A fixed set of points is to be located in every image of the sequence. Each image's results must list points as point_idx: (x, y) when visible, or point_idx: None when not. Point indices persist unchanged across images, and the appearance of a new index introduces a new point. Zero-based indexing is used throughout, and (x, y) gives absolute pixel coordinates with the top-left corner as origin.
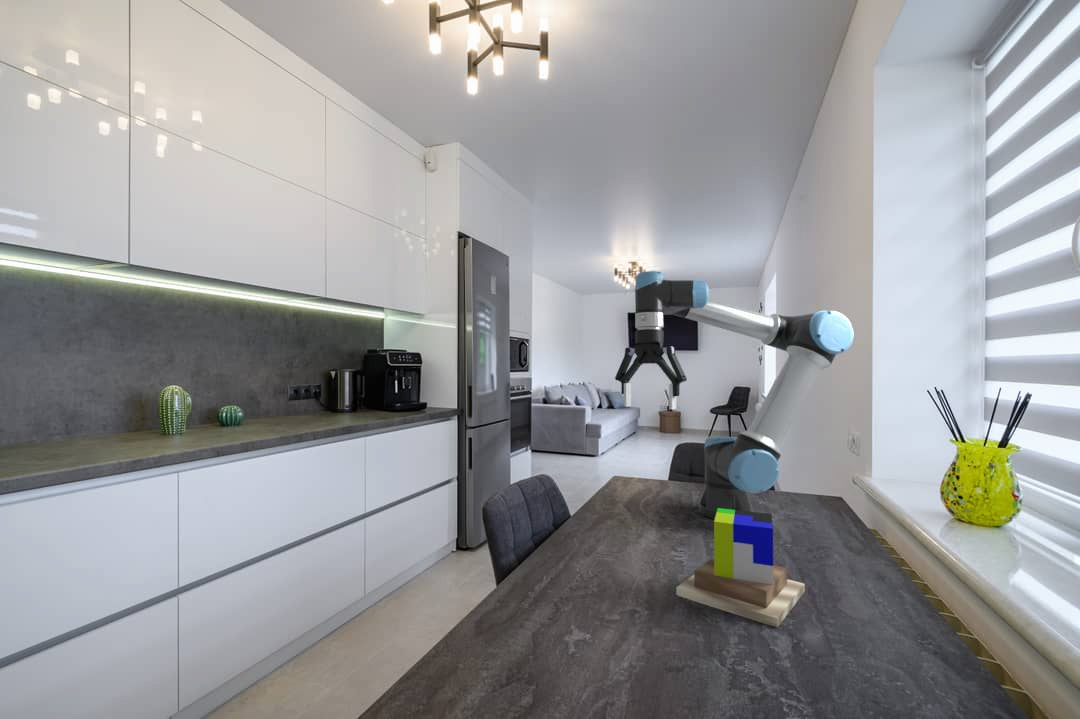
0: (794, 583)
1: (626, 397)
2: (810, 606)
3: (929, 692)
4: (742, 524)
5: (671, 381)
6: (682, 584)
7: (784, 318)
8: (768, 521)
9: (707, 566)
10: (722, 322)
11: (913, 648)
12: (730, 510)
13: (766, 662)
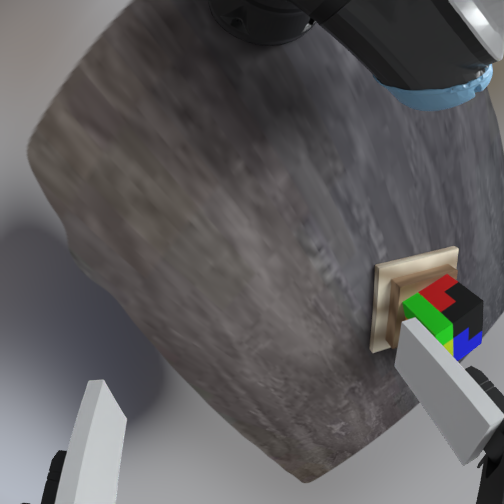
0: (452, 256)
1: (119, 460)
2: (458, 271)
3: (494, 314)
4: (460, 357)
5: (484, 469)
6: (375, 345)
7: None
8: (479, 328)
9: (399, 331)
10: None
11: (498, 275)
12: (448, 330)
13: None
